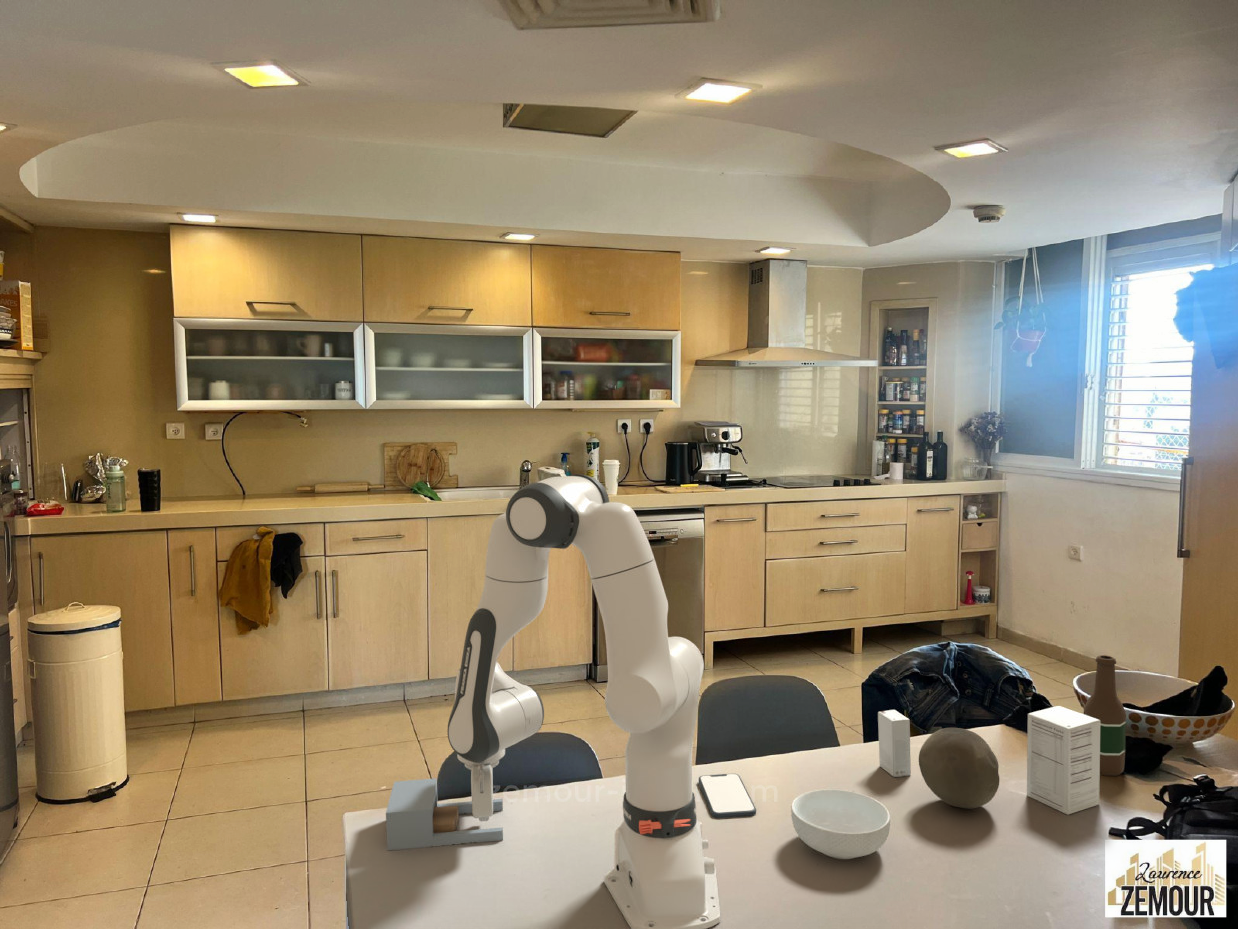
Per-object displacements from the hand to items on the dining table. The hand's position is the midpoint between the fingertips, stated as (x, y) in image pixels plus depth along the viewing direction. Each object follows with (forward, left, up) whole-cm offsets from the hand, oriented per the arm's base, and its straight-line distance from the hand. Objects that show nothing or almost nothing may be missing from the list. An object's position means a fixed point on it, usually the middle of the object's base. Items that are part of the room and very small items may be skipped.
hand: (484, 817), depth 162 cm
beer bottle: (+2, -128, -2) cm, 128 cm away
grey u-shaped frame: (+1, +7, -2) cm, 7 cm away
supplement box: (-9, -111, -2) cm, 112 cm away
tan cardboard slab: (+1, +10, -2) cm, 10 cm away
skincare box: (+9, -85, -2) cm, 86 cm away
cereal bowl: (-18, -62, -2) cm, 65 cm away
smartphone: (+3, -48, -2) cm, 48 cm away
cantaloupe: (-8, -90, -2) cm, 91 cm away
